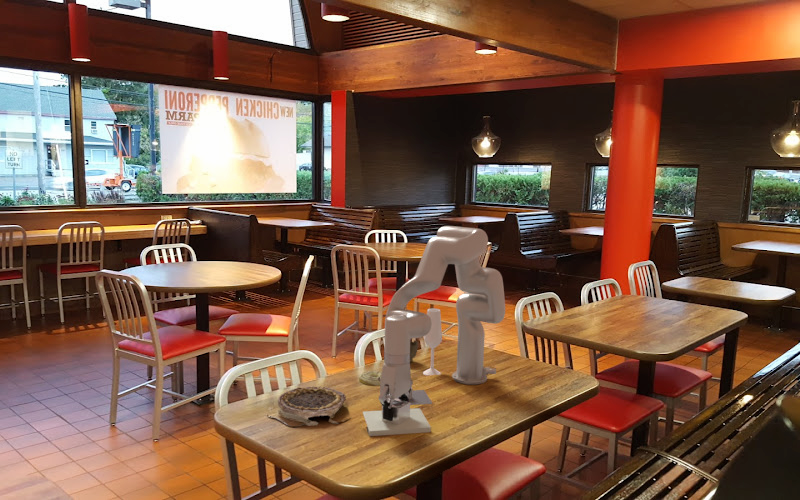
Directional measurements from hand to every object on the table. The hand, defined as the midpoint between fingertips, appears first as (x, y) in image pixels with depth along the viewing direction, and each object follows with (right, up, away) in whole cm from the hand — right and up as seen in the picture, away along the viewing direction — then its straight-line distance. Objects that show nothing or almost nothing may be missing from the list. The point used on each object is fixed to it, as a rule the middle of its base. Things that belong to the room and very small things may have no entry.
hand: (395, 414), depth 182 cm
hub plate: (0, -3, 0) cm, 3 cm away
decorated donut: (-8, +1, +33) cm, 34 cm away
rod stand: (+4, -1, +17) cm, 18 cm away
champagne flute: (+13, +3, +46) cm, 47 cm away
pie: (-26, -2, +10) cm, 28 cm away
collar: (0, -1, 0) cm, 1 cm away
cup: (+4, +5, +58) cm, 58 cm away
